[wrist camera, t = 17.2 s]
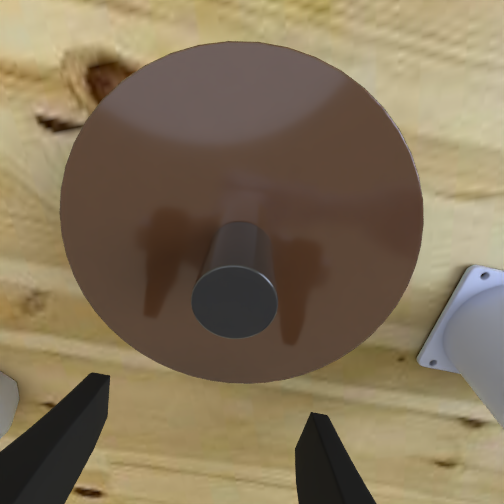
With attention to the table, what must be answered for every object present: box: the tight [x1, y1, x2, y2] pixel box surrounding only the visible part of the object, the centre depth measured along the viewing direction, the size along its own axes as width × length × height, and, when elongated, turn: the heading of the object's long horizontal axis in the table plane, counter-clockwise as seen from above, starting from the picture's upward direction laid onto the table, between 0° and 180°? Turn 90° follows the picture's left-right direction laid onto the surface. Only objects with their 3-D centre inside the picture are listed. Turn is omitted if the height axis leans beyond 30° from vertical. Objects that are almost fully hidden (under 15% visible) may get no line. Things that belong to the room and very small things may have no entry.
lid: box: [60, 41, 423, 384], centre depth 11 cm, size 13×13×5 cm
